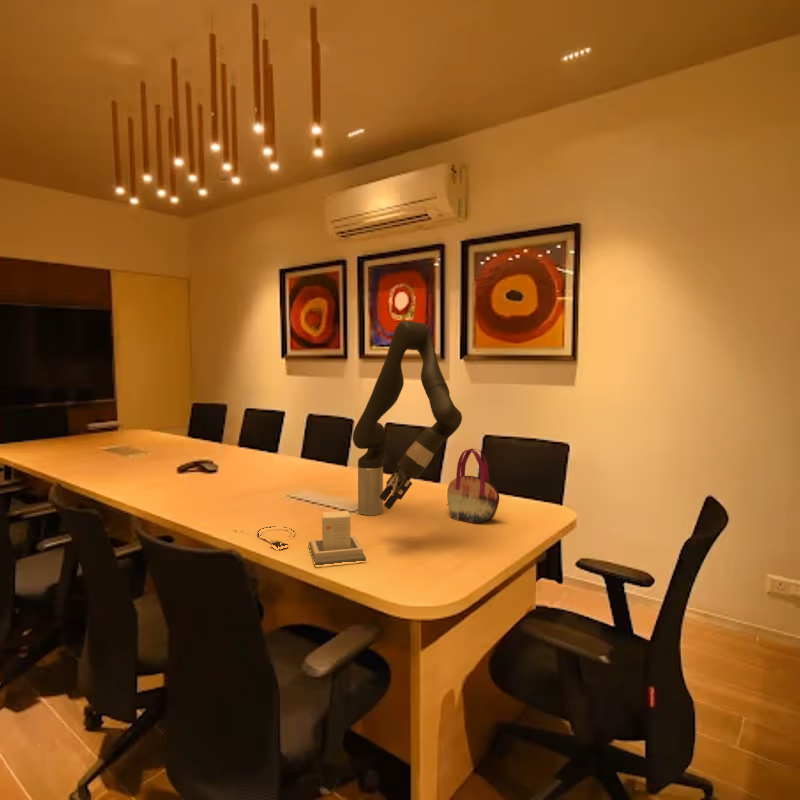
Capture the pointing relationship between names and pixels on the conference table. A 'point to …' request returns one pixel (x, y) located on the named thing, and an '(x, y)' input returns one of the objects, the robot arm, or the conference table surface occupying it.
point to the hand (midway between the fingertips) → (384, 503)
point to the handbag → (472, 492)
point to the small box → (336, 530)
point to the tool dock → (336, 553)
